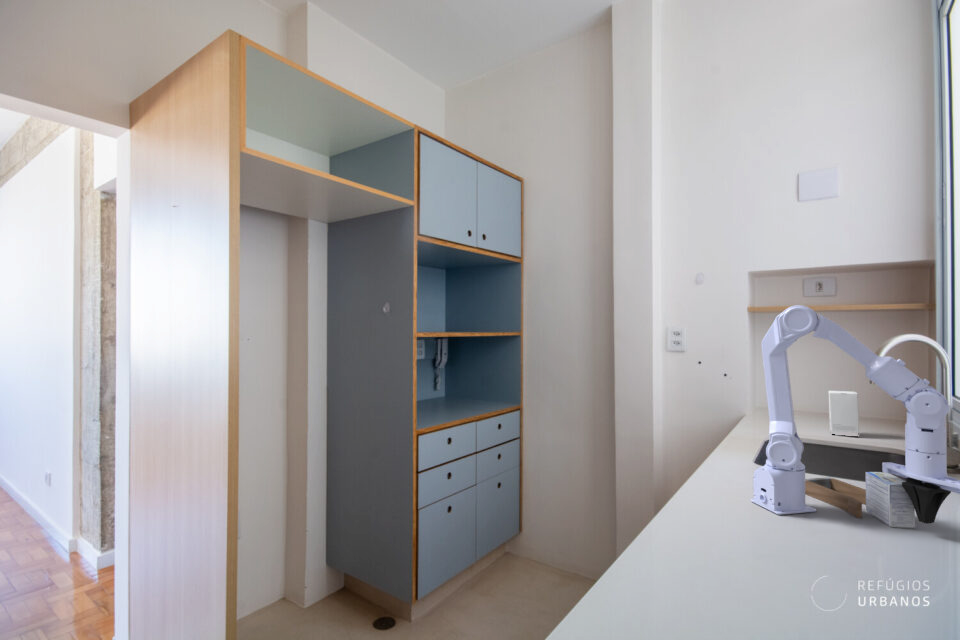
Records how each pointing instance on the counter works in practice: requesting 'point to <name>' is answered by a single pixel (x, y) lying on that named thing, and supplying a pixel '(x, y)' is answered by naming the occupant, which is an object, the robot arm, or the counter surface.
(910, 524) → the medicine box
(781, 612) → the counter surface
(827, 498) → the guide channel
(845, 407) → the skincare box
